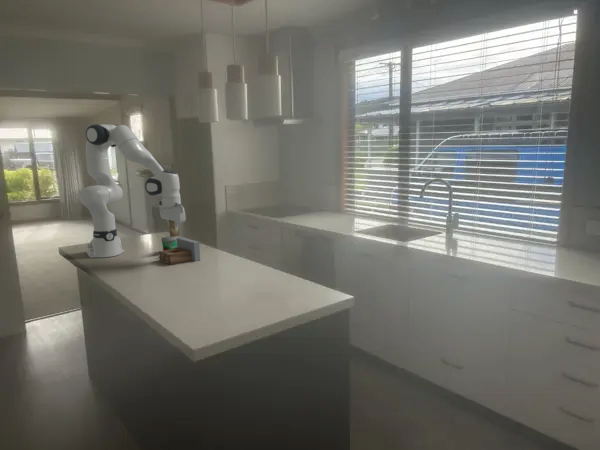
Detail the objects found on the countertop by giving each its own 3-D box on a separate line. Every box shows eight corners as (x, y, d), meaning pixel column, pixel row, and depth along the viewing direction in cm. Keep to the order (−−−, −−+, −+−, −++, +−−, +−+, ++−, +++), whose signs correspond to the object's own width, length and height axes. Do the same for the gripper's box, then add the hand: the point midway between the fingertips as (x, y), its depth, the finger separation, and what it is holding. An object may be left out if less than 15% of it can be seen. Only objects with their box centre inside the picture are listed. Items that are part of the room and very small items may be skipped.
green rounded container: (172, 255, 239) (171, 238, 238) (162, 255, 241) (161, 237, 239) (183, 250, 251) (181, 233, 250) (173, 250, 253) (171, 233, 251)
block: (159, 260, 229) (159, 251, 228) (180, 256, 237) (179, 247, 236) (171, 264, 221) (170, 255, 220) (192, 260, 229) (191, 251, 228)
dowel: (168, 235, 226) (167, 220, 225) (175, 234, 229) (174, 219, 228) (172, 237, 224) (171, 221, 222) (179, 235, 226) (178, 220, 225)
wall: (177, 255, 239) (176, 237, 238) (182, 254, 241) (181, 237, 240) (195, 261, 227) (194, 242, 225) (200, 260, 229) (199, 241, 227)
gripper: (187, 203, 218) (189, 230, 221) (167, 200, 233) (169, 225, 235) (176, 204, 214) (178, 232, 216) (156, 201, 228) (158, 227, 231)
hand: (173, 229), depth 226 cm, fingers closed on dowel, 4 cm apart
